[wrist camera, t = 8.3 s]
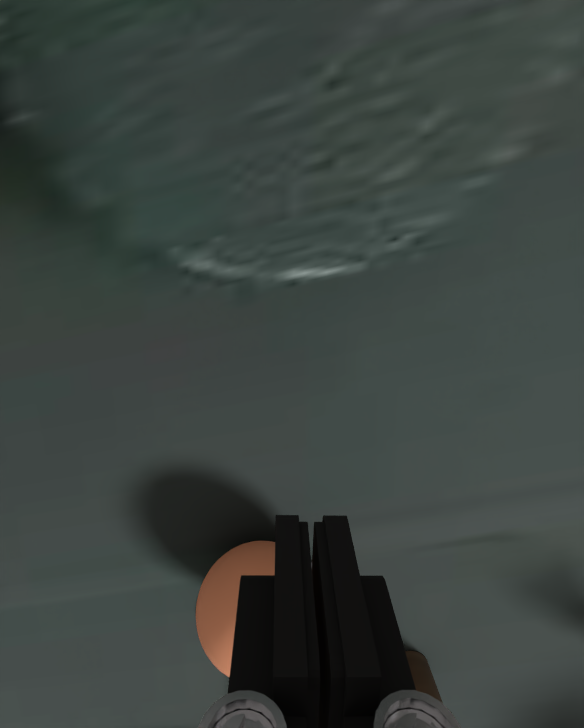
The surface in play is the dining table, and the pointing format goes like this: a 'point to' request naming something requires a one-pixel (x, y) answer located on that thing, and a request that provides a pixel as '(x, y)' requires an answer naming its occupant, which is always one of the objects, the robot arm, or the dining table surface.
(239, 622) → the robot arm
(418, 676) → the walnut pin
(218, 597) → the ball
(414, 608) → the dining table surface
